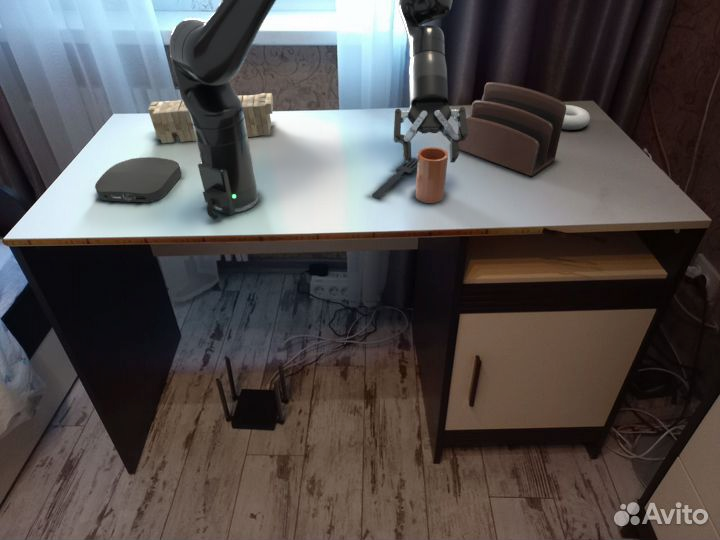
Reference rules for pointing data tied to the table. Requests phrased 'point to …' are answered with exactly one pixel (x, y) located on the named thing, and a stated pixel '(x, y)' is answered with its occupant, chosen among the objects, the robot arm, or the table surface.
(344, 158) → the table surface
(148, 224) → the table surface
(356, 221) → the table surface
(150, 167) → the media streaming box
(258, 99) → the block tower
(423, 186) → the tumbler
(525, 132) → the letter holder
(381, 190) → the fork
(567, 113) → the donut
